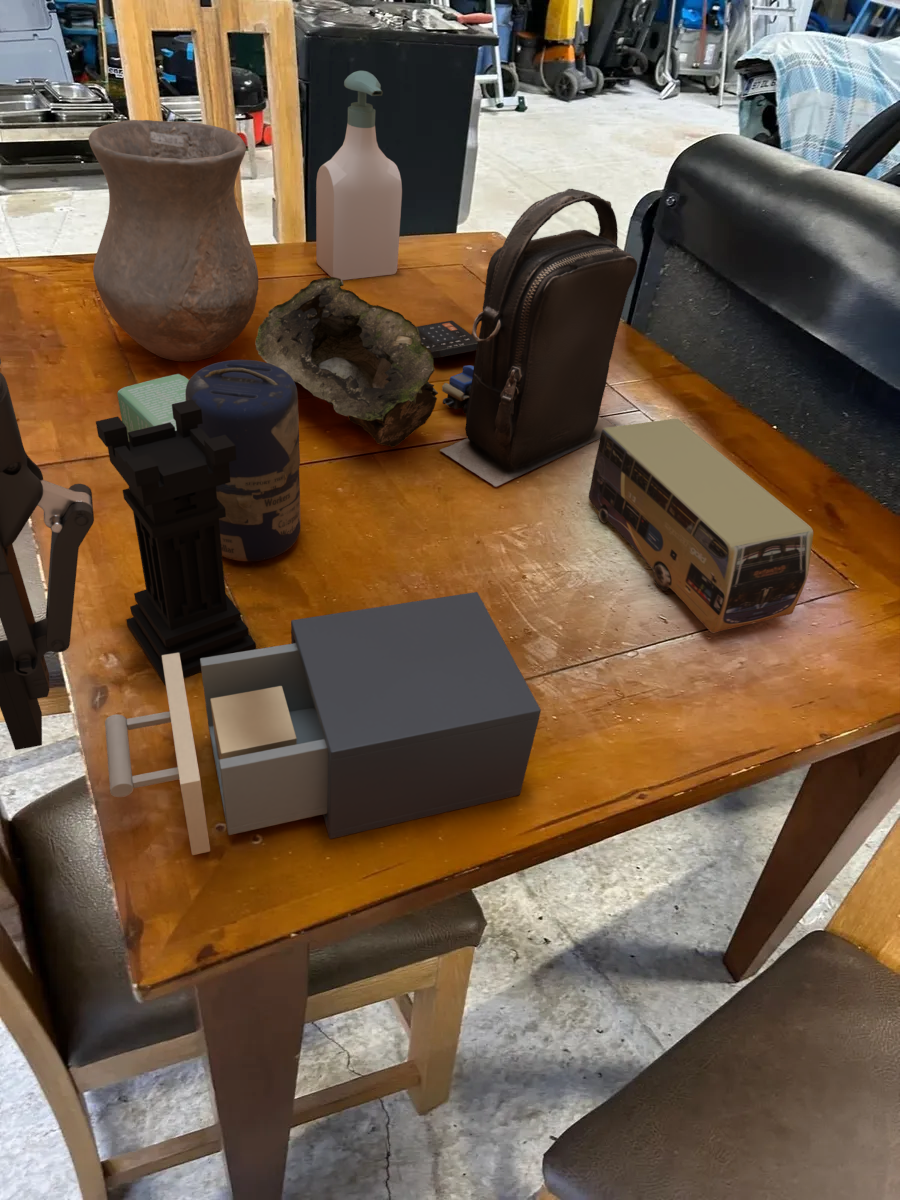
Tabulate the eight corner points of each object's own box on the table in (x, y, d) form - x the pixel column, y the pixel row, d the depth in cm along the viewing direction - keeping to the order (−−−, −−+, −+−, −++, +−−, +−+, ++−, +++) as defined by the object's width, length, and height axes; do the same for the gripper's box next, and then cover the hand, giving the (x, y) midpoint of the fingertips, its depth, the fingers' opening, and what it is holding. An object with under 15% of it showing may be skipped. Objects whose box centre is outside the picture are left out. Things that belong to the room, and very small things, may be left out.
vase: (83, 332, 115) (44, 119, 98) (219, 307, 124) (204, 109, 108) (146, 400, 104) (114, 173, 87) (290, 366, 113) (286, 156, 97)
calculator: (451, 326, 127) (453, 305, 125) (497, 361, 120) (500, 340, 118) (395, 336, 123) (396, 315, 121) (439, 373, 116) (441, 351, 114)
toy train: (569, 372, 120) (576, 336, 117) (456, 422, 107) (460, 384, 103) (547, 361, 122) (554, 326, 118) (433, 409, 109) (437, 371, 105)
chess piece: (165, 685, 71) (130, 476, 58) (127, 626, 76) (87, 420, 63) (256, 649, 75) (243, 446, 62) (215, 595, 80) (195, 395, 66)
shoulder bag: (565, 398, 114) (613, 166, 96) (620, 428, 110) (682, 191, 91) (438, 452, 101) (466, 196, 83) (495, 489, 97) (537, 227, 78)
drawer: (124, 871, 58) (105, 799, 53) (113, 738, 66) (96, 665, 60) (386, 811, 63) (392, 741, 58) (347, 696, 71) (350, 625, 66)
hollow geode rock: (415, 502, 102) (503, 402, 99) (346, 456, 91) (443, 342, 89) (306, 385, 118) (380, 296, 115) (238, 334, 107) (317, 235, 105)
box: (186, 429, 100) (179, 368, 95) (249, 487, 93) (244, 425, 88) (124, 447, 96) (113, 385, 91) (184, 510, 89) (176, 446, 84)
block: (226, 799, 61) (221, 753, 58) (215, 744, 65) (210, 698, 61) (297, 783, 63) (296, 738, 60) (283, 731, 66) (281, 685, 63)
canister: (272, 580, 82) (264, 407, 70) (181, 552, 84) (159, 379, 72) (317, 525, 89) (317, 359, 77) (232, 500, 91) (219, 334, 79)
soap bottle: (337, 285, 134) (341, 80, 116) (316, 265, 139) (316, 65, 121) (402, 278, 139) (415, 79, 121) (379, 258, 144) (388, 65, 126)
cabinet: (329, 839, 62) (330, 752, 56) (293, 707, 71) (290, 619, 64) (520, 795, 66) (541, 710, 60) (464, 676, 75) (477, 591, 69)
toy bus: (706, 644, 81) (737, 555, 74) (581, 508, 97) (599, 426, 91) (791, 623, 84) (828, 537, 78) (658, 496, 100) (679, 416, 94)
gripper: (-287, 440, 34) (-97, 803, 50) (72, 411, 38) (144, 756, 54) (-245, 352, 40) (-85, 706, 55) (67, 335, 44) (135, 670, 59)
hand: (28, 730), depth 54 cm, fingers closed
